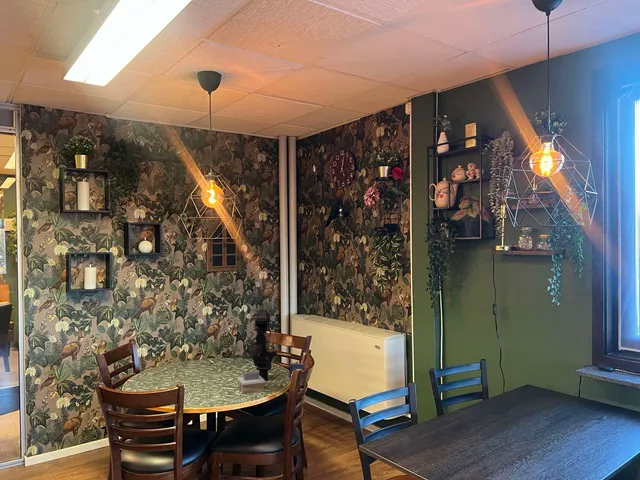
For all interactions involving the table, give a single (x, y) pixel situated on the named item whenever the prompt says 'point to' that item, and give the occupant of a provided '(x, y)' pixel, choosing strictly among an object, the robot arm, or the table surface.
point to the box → (251, 387)
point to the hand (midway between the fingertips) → (261, 367)
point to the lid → (251, 378)
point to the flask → (295, 367)
